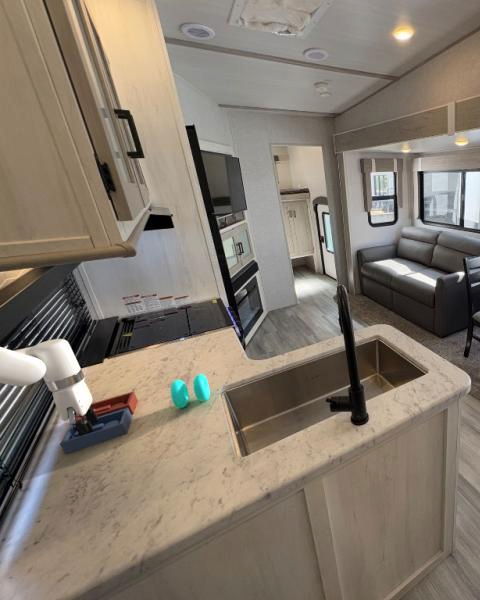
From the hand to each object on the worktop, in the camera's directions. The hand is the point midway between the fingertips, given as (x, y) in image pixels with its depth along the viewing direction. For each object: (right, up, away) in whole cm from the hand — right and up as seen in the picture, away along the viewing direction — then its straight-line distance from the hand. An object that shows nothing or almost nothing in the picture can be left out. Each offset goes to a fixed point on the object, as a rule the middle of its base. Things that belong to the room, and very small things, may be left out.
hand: (89, 428), depth 97 cm
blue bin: (+2, -3, +2) cm, 4 cm away
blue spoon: (+2, -2, +2) cm, 4 cm away
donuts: (+23, +3, +15) cm, 28 cm away
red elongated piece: (-4, +1, +11) cm, 12 cm away
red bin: (-4, 0, +11) cm, 12 cm away
